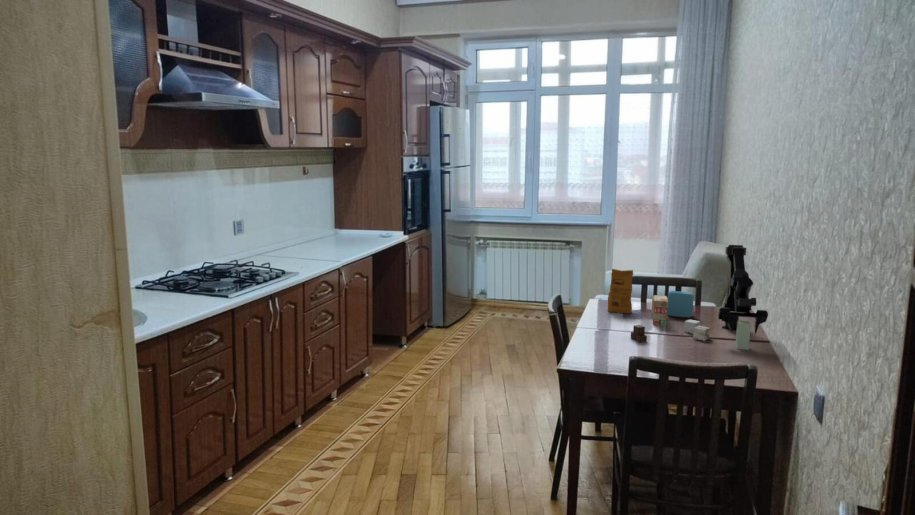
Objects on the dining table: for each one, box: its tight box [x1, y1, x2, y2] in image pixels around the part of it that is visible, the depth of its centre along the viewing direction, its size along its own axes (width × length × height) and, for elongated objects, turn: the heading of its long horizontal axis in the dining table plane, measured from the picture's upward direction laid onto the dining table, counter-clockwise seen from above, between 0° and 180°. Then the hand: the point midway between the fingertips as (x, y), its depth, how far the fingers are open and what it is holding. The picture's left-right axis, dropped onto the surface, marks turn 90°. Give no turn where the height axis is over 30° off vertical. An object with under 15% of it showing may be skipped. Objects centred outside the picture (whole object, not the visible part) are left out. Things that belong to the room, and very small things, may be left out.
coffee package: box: [607, 268, 634, 314], centre depth 330 cm, size 10×12×22 cm
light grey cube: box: [683, 319, 701, 335], centre depth 293 cm, size 5×5×5 cm
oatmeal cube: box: [692, 325, 711, 342], centre depth 282 cm, size 5×5×5 cm
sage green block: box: [734, 320, 752, 351], centre depth 269 cm, size 4×4×11 cm
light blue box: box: [667, 290, 695, 319], centre depth 323 cm, size 12×4×12 cm, turn 66°
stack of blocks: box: [651, 294, 668, 327], centre depth 313 cm, size 21×6×12 cm, turn 165°
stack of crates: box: [630, 324, 648, 343], centre depth 280 cm, size 15×15×7 cm
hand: (743, 332), depth 267 cm, fingers open, 9 cm apart
